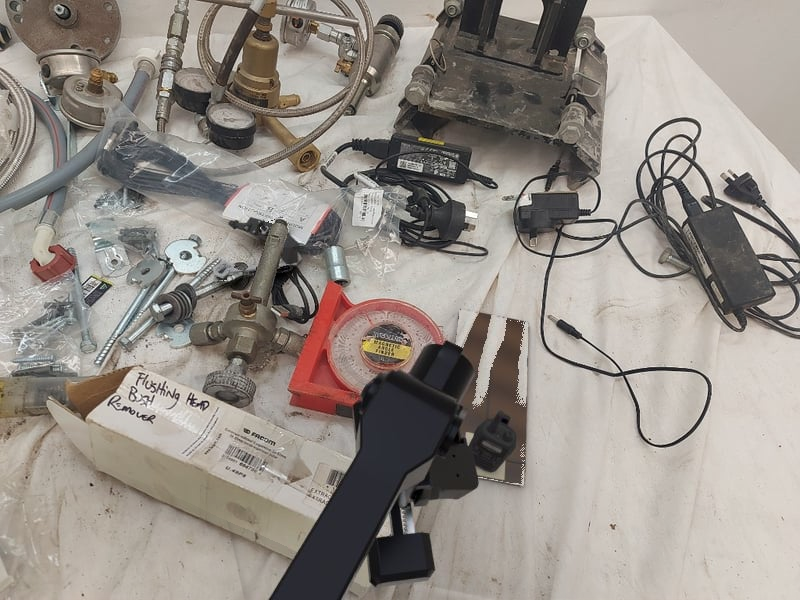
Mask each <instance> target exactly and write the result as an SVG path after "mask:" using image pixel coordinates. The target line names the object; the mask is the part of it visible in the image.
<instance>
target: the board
mask: <svg viewBox="0 0 800 600" xmlns="http://www.w3.org/2000/svg"><path fill="white" fill-rule="evenodd" d="M478 312H479V314H478V316H477V317H476V319H475V321H474V323H473V326H472V328H471V330H470V332H469V334H468V337H467V340H466V342H465V344H464V347H463V348H464V350H463V352H462V354H463V355H464V356H465V357H466V358H467V359H468V360H469V361H470V363H471V364H472V366H473V368H474V371H475V376H474V378H473V380H472V382H471V384H470V386H469V388H468V390H467V392H466V393H465V395H464V397H463V399H462V401H461V403H460V405H462V406H464V407H465V408H467V409H469V410H468V412H467V414H466V416H465V418H464V420H463V422H462V424H461V426H460V428H459V429H460V434H461V438H466V440H467V444H468V446H469V443H470V441H471V439H472V438H473V435H474V432H475V430H476V429H477V427H478V426H479V425H481V424H482V423H483V422H484V421H485V420H486V419H494V417H495V416H496V414H497V413H498V412H499V411H503V412H504V414H506V415H508V416H509V417H510V421H509V423H508V426H509V427H510V428H512V429H513V430H514V431H515V433H516V447H515V449H514V450H513V452H512V453H511V455H509V456H508V457H507V458H506V460H505V461H504V463H503V464H502V465H501V466H500V467H499V468H498V469H497V470H496V471H495V472H491V473H490V472H488V471H485V470H483V469H481V468H479V467H477V466H476V465H475V466H476V471H477V476H478V477H483V478H487V479H494V480H498V481H503V482H509V483H519V484H522V483H521V482H522V481H521V480H522V479H523V478H522V477H521V476H522V475H523V474H522V471H523V470H524V469H525V470H526V465H527V461H526V459H527V458H526V457H527V425H528V424H527V423H528V422H527V421H528V402H527V403H526V404H527V405H526V404H525V403H524V404H525V406H526V407H525V406H524V404H523V403H522V404H523V405H522V404H521V403H520V404H521V405H520V404H519V402H520V400H521V399H520V400H519V397H520V396H519V397H518V395H519V393H518V394H517V392H518V390H519V389H518V388H517V387H518V383H519V382H518V381H519V379H518V375H519V369H518V361H519V356H520V354H521V350H520V346H521V345H522V341H521V339H522V338H523V336H522V332H523V328H524V325H523V322H524V321H525V322H526V321H527V320H522V319H516V318H511V317H507V320H506V323H507V324H506V328H505V329H506V331H505V336H504V341H502V343H501V346H500V348H499V350H498V351H497V355H495V356H496V358H495V359H494V362H493V363H492V364H493V367H491V370H490V377H489V378H490V380H489V385H488V386H489V387H488V390H487V393H488V394H487V393H486V392H485V393H486V395H485V397H486V398H485V397H484V398H483V397H482V398H483V401H484V402H483V401H482V402H483V403H482V402H481V404H480V405H481V406H480V405H479V404H478V405H479V406H478V405H476V404H477V403H476V404H475V405H476V406H475V405H474V404H472V402H473V401H474V399H475V398H476V396H475V393H476V390H475V389H476V386H477V385H476V384H477V383H476V380H477V378H478V372H479V371H478V367H479V363H480V359H481V355H482V353H483V347H484V344H485V341H486V339H487V333H488V327H489V323H490V319H491V315H492V314H491V313H486V312H481V311H478ZM510 320H511V321H510ZM519 320H520V322H519ZM517 321H518V322H517ZM525 322H524V324H525ZM521 323H522V324H521ZM522 326H523V327H522ZM524 330H525V329H524ZM523 334H524V332H523ZM522 340H523V339H522ZM520 344H521V345H520ZM521 347H522V346H521ZM517 380H518V381H517ZM517 389H518V390H517ZM516 390H517V391H516ZM516 395H517V396H516ZM474 396H475V397H474ZM517 397H518V399H517ZM480 398H481V396H480ZM518 400H519V402H518ZM522 400H523V398H522ZM516 401H517V402H518V403H517V402H516ZM515 402H516V403H515ZM523 402H524V401H523ZM473 405H474V406H473ZM477 406H478V407H477ZM523 406H524V407H523ZM474 407H475V408H474ZM473 408H474V409H473ZM523 444H524V445H523ZM525 444H526V445H525ZM522 445H523V446H522ZM523 447H524V448H525V447H526V448H525V449H526V450H525V449H524V448H523ZM522 448H523V449H524V450H523V449H522ZM521 449H522V450H523V451H522V450H521ZM520 450H521V451H520ZM521 452H522V453H523V452H524V453H523V454H524V455H525V456H526V457H525V456H524V455H523V454H522V453H521ZM525 452H526V453H525ZM521 454H522V455H523V456H524V457H521V456H522V455H521ZM520 455H521V456H520ZM522 460H523V461H524V460H525V461H524V462H523V461H522ZM522 464H524V466H523V465H522ZM522 466H523V467H522ZM521 467H522V468H521ZM524 467H525V468H524ZM523 468H524V469H523ZM522 469H523V470H522ZM521 474H522V475H521ZM521 478H522V479H521Z"/></svg>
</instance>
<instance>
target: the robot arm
mask: <svg viewBox="0 0 800 600" xmlns="http://www.w3.org/2000/svg"><path fill="white" fill-rule="evenodd" d="M463 350H464V348H462V347H460V346H458V345H456V344H455V342H452V341H449V340H447V339H445V340H444V342H443V344H441V343H429V344H426V345H425V346H423V348H422V349H421V350H420V351H421V352H420V353H419V355H418V357H417V358H416V360H415V361H414V363H413V365H412V367H411V368H410V369H409V371H408V372H407V371H404V370H402V369H400V368H399V369H397V370H394V369H391V370H389V371H386V372H385V371H384V372H382V371H381V372H379V373H378V374H377V375H375V377H373V378H372V379H371V380H370V381H369V382H368V383H366V384H365V386H363V389H362V390H361V393H360V396H359V397H360V399H358V400H356V401H355V402H354V403H353V404H352V410H351V412H352V414H351V415H352V424H353V434H354V440H355V448H354V449H355V451H354V452H355V457H354V458H353V460H352V462H351V463H350V465H349V466H348V468H347V470H346V471H345V473H344V474H343V476H342V478H341V479H340V481H339V482H338V484H337V486H336V488H335V489H334V491H333V493H332V494H331V496H330V498H329V499H328V501H327V502H326V505H325V506H324V508H323V509H322V510H321V512H320V514H319V515H318V516H317V519H316V521H315V522H314V524H313V525H312V527H311V528H310V530H309V532H308V534H307V536H306V537H305V539H304V541H303V542H302V544H301V545H300V547H299V548H298V550H297V552H296V554H295V555H294V557H293V558H292V560H291V562H290V564H289V565H288V567H287V568H286V569H285V572H284V574H283V575H282V576H281V578H280V580H279V582H278V583H277V585H276V586H275V588H274V590H273V591H272V593H271V595H270V596H269V597H268V600H345V598H346V596H347V594H348V592H349V591H350V589H351V587H352V585H353V583H354V581H355V579H356V577H357V575H358V573H359V572H360V569H361V567H362V565H364V562H365V560H366V564H367V571H368V573H367V574H368V580H369V581H368V582H369V583H370V584H371V585H372V587H374V588H376V589H378V588H384V587H385V588H386V587H391V586H398V585H405V584H406V585H407V584H414V583H422V582H428V581H429V580H430V579H431V578H432V576H433V574H434V573H435V571H436V565H435V558H434V553H433V547H432V546H433V545H432V540H431V534H430V533H429V532H425V531H419V532H416V529H415V523H414V515H413V508H412V503H413V507H414V508H417V507H426V506H427V505H428V504H429V501H436V500H460V499H462V498H463V497H465V496H466V495H468V494H470V493H472V492H473V491H475V490H476V489H477V488H478V487H479V485H480V483H479V482H480V481H479V480H480V479H479V478H478V476H477V471H476V466H475V462H474V457H473V453H472V450H471V448H470V447H469V446H468V444H467V440H466V438H461V434H460V429H459V428H460V426H461V424H462V422H463V420H464V418H465V416H466V414H467V412H468V410H469V409H467V408H465V407H464V406H462V405H460V403H461V401H462V399H463V397H464V395H465V393H466V392H467V390H468V388H469V386H470V384H471V382H472V380H473V378H474V376H475V371H474V368H473V366H472V364H471V363H470V361H469V360H468V359H467V358H466V357H465V356H464V355H463V354H462V352H463ZM401 510H402V511H401ZM388 517H389V524H390V525H389V526H390V533H391V535H387V536H386V535H385V536H379V533H380V532H381V530H382V528H383V526H384V524H385V522H386V520H387V518H388ZM403 526H404V527H403Z"/></svg>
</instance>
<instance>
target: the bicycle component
mask: <svg viewBox="0 0 800 600" xmlns="http://www.w3.org/2000/svg"><path fill="white" fill-rule="evenodd" d="M278 218H283V217H281V216H280V217H278ZM262 220H263V219H260V218H256V217H252V216H250V217H249V218H248V220H247V221H246V222H240V220H238V219H235V220H233V219H231V220H229V222H228V226H230V227H231V228H232V229H233V230H239V231H240V230H241V231H243V232H247V233H249V234H251V235H253V236H255V237H257V239H259V241H260V242H261V241H262V242H265V241H266V239H267V234H268V233H269V230H270V227H271V226H272V225H273V224H272V223H269V221H268V222H265V221H262ZM274 220H275V219H274ZM271 221H273V220H271ZM260 227H261V229H260ZM261 230H262V231H261ZM287 232H288V234H287V239H286V242H285V244H284V248H283V252H282V251H281V255H280V256H281V259H280V264H279V267H283V266H286V265H293V266H298V263H299V262H300V261H301V260H302V255H301V254H300V253H299V251H298V248H299V247H300V243H299V242H298V241H297V240H296V239H295V238H294V237H292V235H291V233H290V232H289V231H287ZM258 264H259V263H257V264H256V263H255V264H249V265H247V266H248V268H247V269H246V270H245V272H253V271H257V270H256V267H257V265H258ZM235 265H236V264H234V263H231V262H229V261H227V260H224V259H221V260H220V261H219V262H218V264H217V265H214V266H212V276H213V282H216V283H218V282H217V281H218V280H223V281H224V280H227V277H228V276H232V275H231V274H234V273H236V272H239V271H243V270H238V269H236V268H234V266H235ZM283 268H284V267H283ZM251 276H255V275H254V273H252V274H250V275H249V276H248V277H251ZM239 279H240V278H238V279H237V280H239Z"/></svg>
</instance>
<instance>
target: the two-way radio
mask: <svg viewBox="0 0 800 600" xmlns="http://www.w3.org/2000/svg"><path fill="white" fill-rule="evenodd" d="M509 421H510V417H509V416H508V415H506V414H504V412H503V411H499V412H498V413H497V414H496V416H495V417H494V419H486V420H485V421H484V422H483V423H482V424H481V425H479V426H478V427H477V429H476V430H475V432H474V435H473V438H472V439H471V441H470V443H469V447H470V448H471V450H472V453H473V457H474V462H475V465H476V466H477V467H479V468H481V469H483V470H485V471H488V472H490V473H491V472H495V471H496V470H497V469H498V468H499V467H500V466H501V465H502V464H503V463H504V461H505V460H506V458H507V457H508V456H509V455H511V453H512V452H513V450H514V449H515V447H516V433H515V431H514V430H513V429H512V428H510V427H509V426H508V423H509Z"/></svg>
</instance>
